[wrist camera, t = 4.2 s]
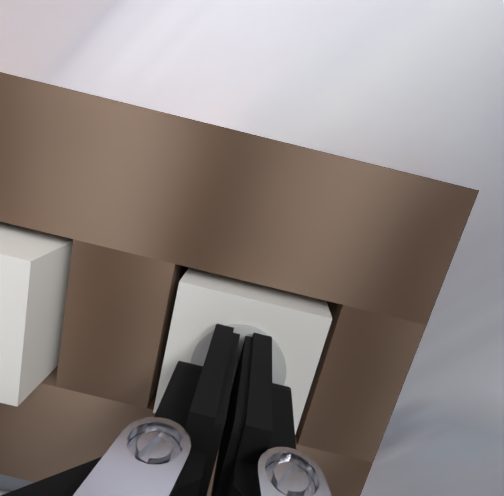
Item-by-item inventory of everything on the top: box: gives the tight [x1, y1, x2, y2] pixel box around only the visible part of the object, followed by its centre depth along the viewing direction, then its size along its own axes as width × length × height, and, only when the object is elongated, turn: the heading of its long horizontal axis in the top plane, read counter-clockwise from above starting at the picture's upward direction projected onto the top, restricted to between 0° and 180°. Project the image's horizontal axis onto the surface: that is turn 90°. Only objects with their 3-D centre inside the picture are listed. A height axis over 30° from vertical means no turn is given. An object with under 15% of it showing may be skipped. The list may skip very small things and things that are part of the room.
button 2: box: [153, 268, 332, 434], centre depth 13 cm, size 4×4×3 cm
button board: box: [0, 72, 479, 496], centre depth 13 cm, size 26×13×3 cm, turn 77°
